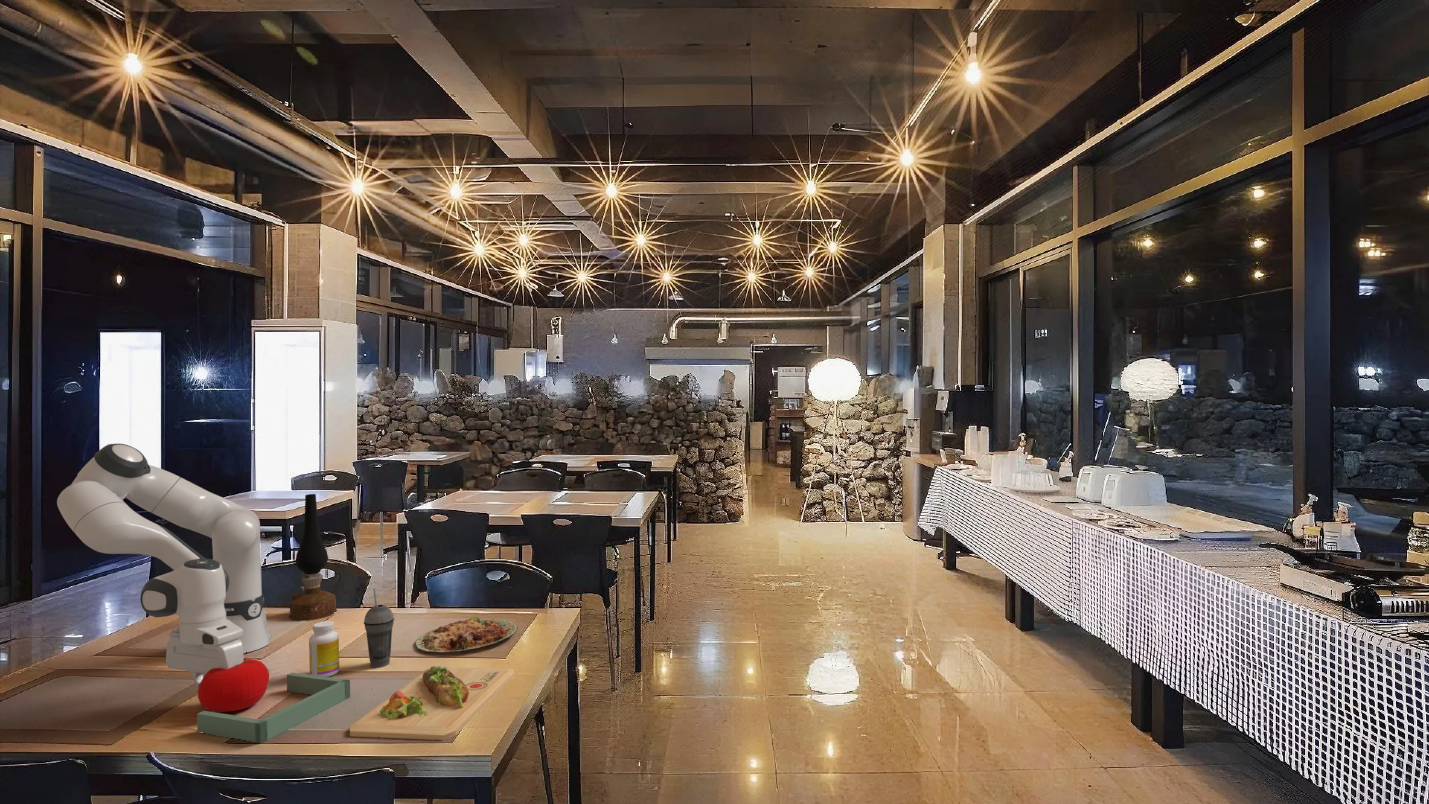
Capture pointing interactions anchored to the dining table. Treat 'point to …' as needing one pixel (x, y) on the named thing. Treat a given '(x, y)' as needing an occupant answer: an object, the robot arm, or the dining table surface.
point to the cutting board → (433, 704)
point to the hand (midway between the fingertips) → (204, 690)
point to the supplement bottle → (324, 650)
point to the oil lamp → (311, 570)
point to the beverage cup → (379, 633)
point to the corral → (258, 731)
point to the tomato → (234, 686)
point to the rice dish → (466, 635)
